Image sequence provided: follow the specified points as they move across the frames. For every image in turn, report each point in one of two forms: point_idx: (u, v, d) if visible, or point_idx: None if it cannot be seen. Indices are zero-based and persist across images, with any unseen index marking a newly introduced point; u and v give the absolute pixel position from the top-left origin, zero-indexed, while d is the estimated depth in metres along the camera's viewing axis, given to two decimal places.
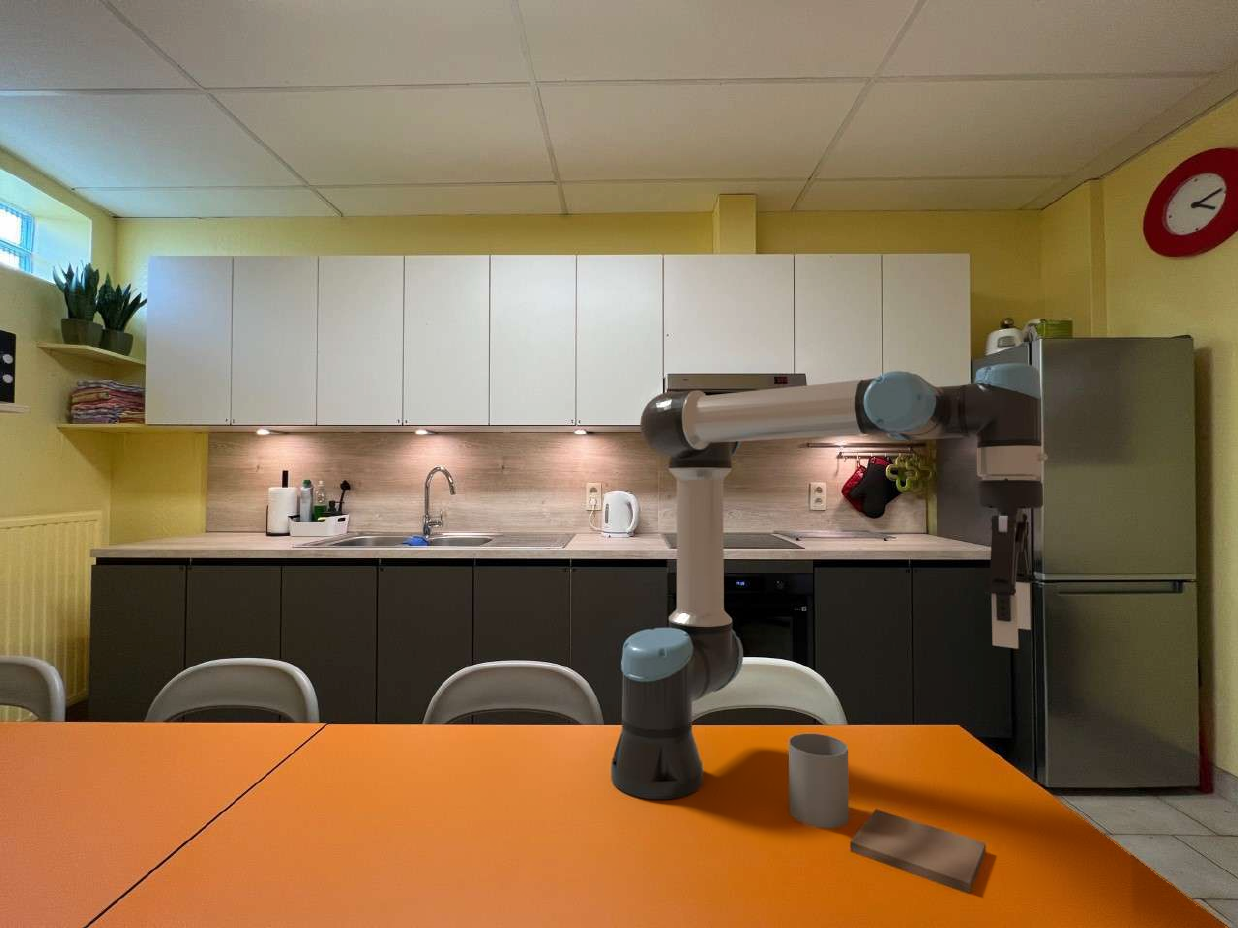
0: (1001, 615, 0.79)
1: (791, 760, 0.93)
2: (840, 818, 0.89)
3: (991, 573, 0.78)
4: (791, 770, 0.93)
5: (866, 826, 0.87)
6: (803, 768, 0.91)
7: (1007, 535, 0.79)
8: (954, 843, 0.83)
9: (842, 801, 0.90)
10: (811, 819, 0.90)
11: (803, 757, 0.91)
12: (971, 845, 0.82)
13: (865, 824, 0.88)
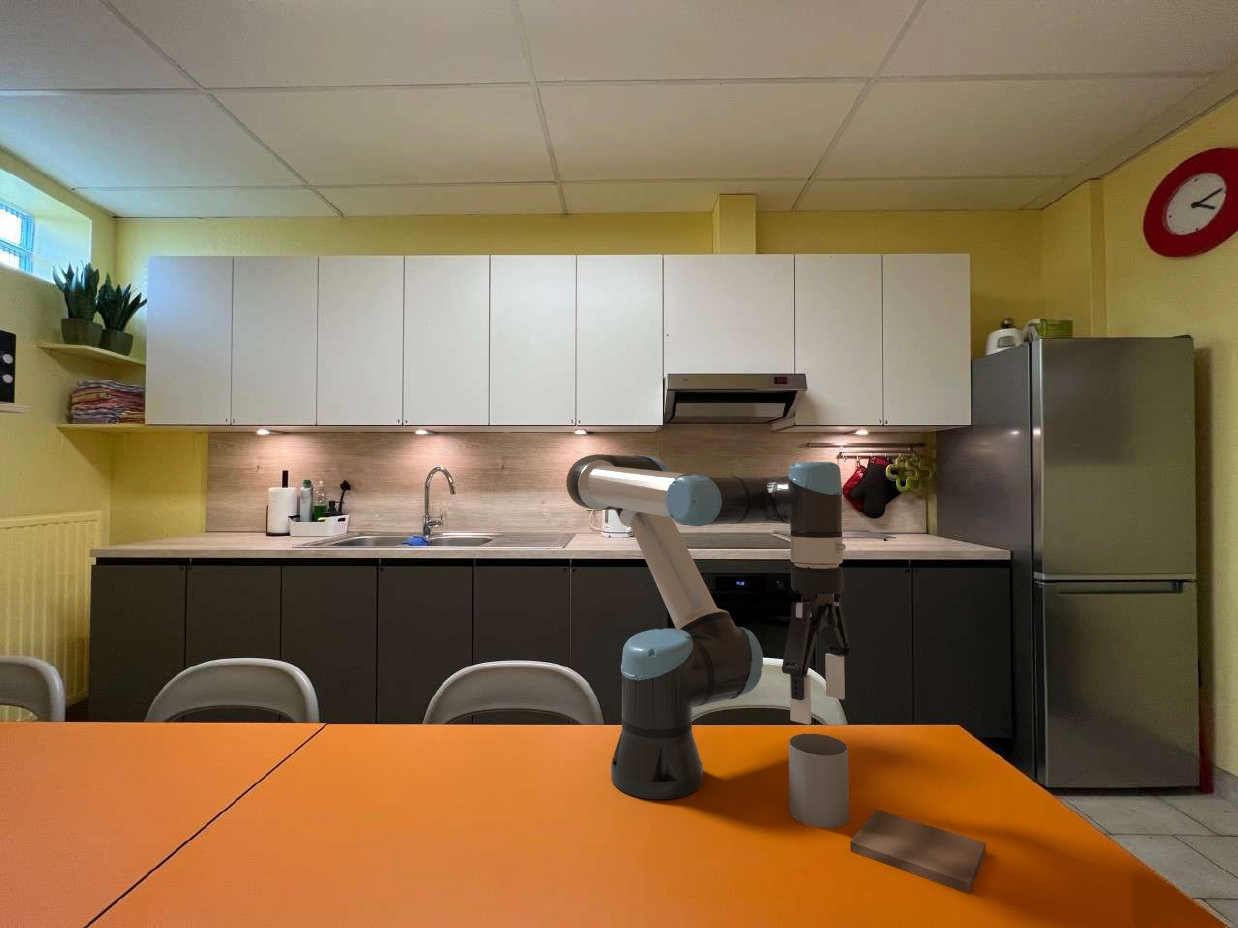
0: (794, 694, 0.87)
1: (791, 760, 0.93)
2: (840, 818, 0.89)
3: (785, 656, 0.87)
4: (791, 770, 0.93)
5: (866, 826, 0.87)
6: (803, 768, 0.91)
7: (801, 621, 0.88)
8: (954, 843, 0.83)
9: (842, 801, 0.90)
10: (811, 819, 0.90)
11: (803, 757, 0.91)
12: (971, 845, 0.82)
13: (865, 824, 0.88)
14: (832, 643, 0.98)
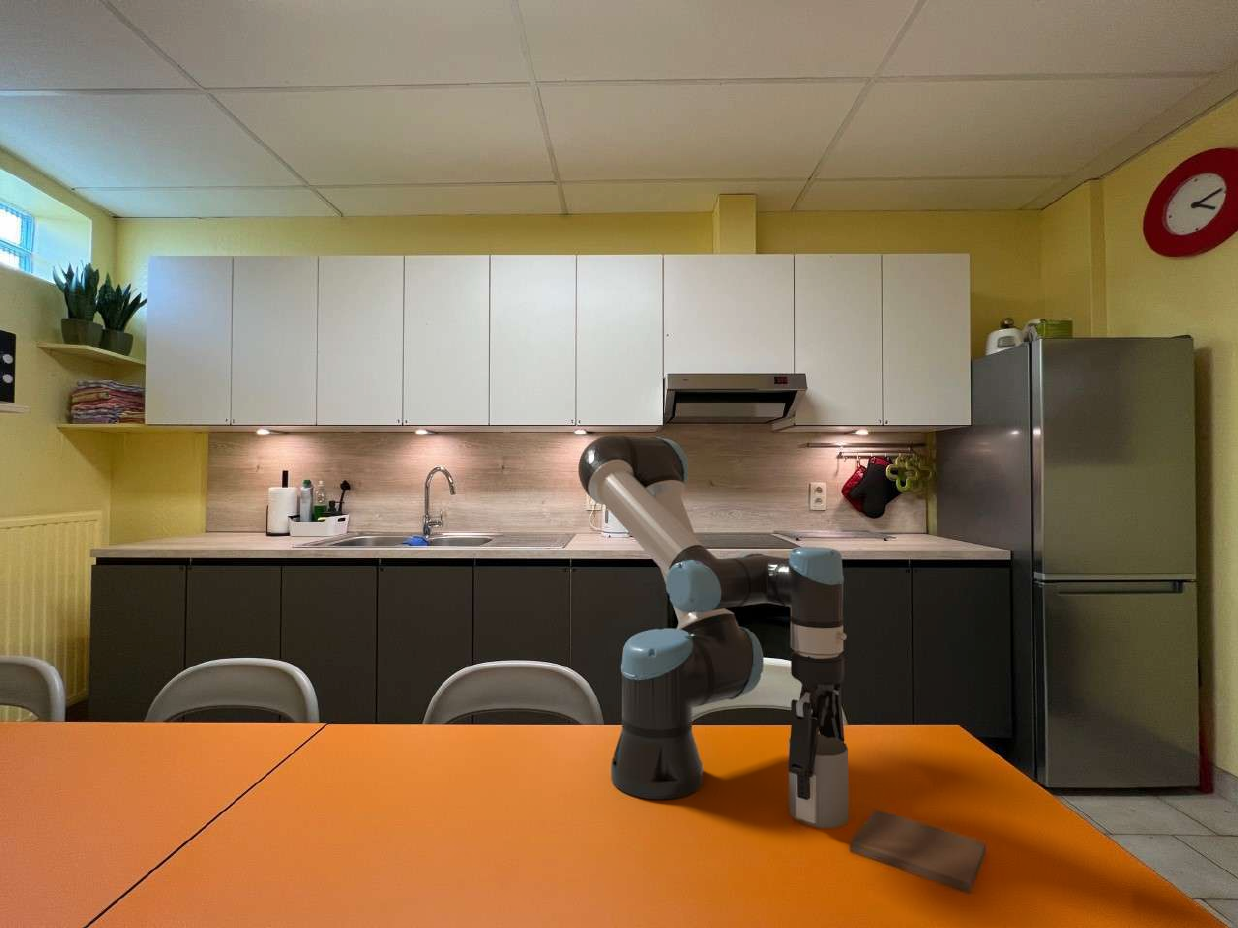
0: (800, 793, 0.89)
1: None
2: (840, 818, 0.89)
3: (790, 758, 0.88)
4: None
5: (866, 826, 0.87)
6: None
7: (803, 721, 0.88)
8: (954, 843, 0.83)
9: (842, 801, 0.90)
10: None
11: None
12: (971, 845, 0.82)
13: (865, 824, 0.88)
14: (828, 737, 0.97)
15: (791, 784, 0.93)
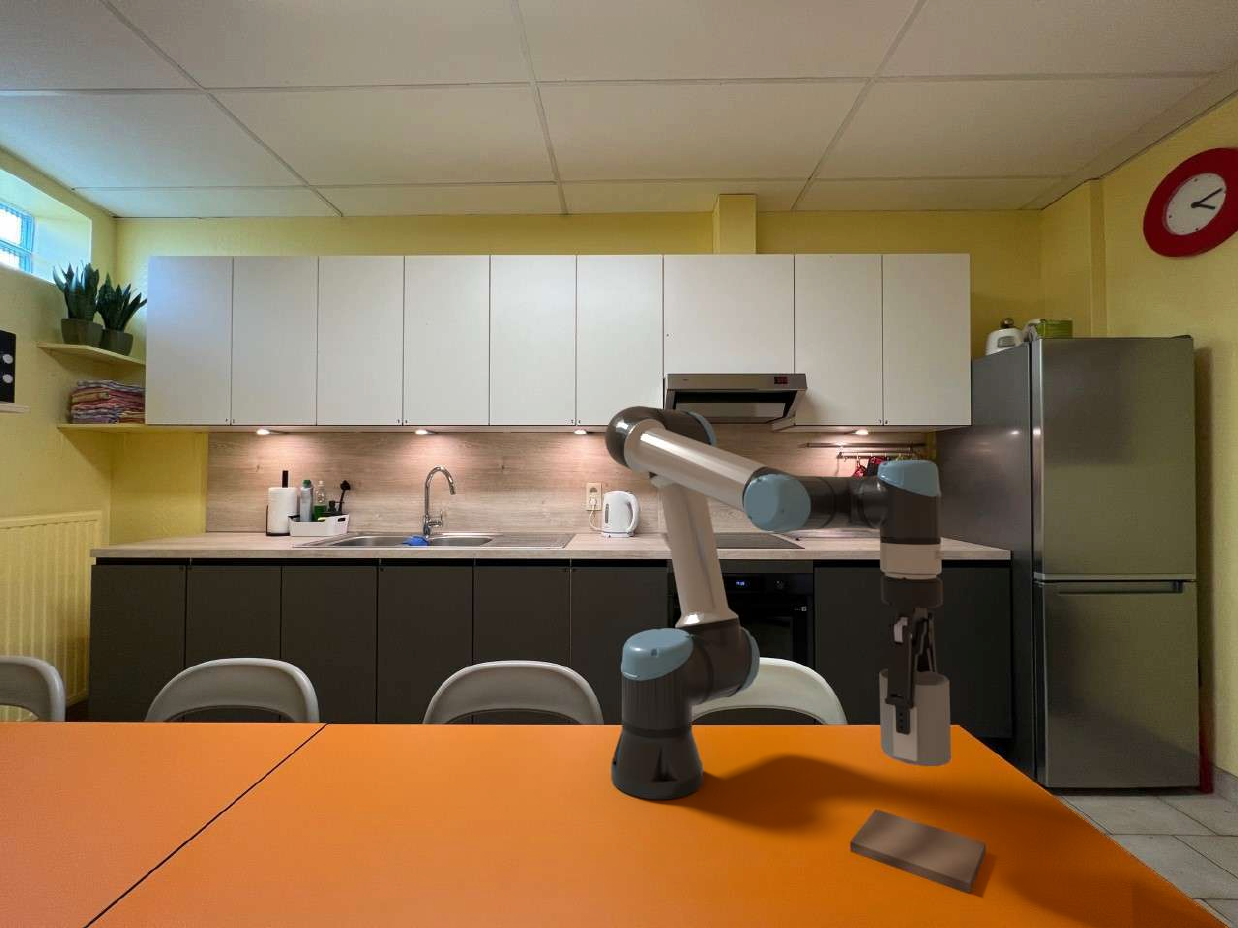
0: (900, 728, 0.79)
1: (884, 694, 0.83)
2: (943, 755, 0.80)
3: (888, 687, 0.79)
4: (885, 705, 0.83)
5: (866, 826, 0.87)
6: None
7: (902, 646, 0.79)
8: (954, 843, 0.83)
9: (945, 737, 0.81)
10: None
11: None
12: (971, 845, 0.82)
13: (865, 824, 0.88)
14: (921, 671, 0.87)
15: (885, 720, 0.83)
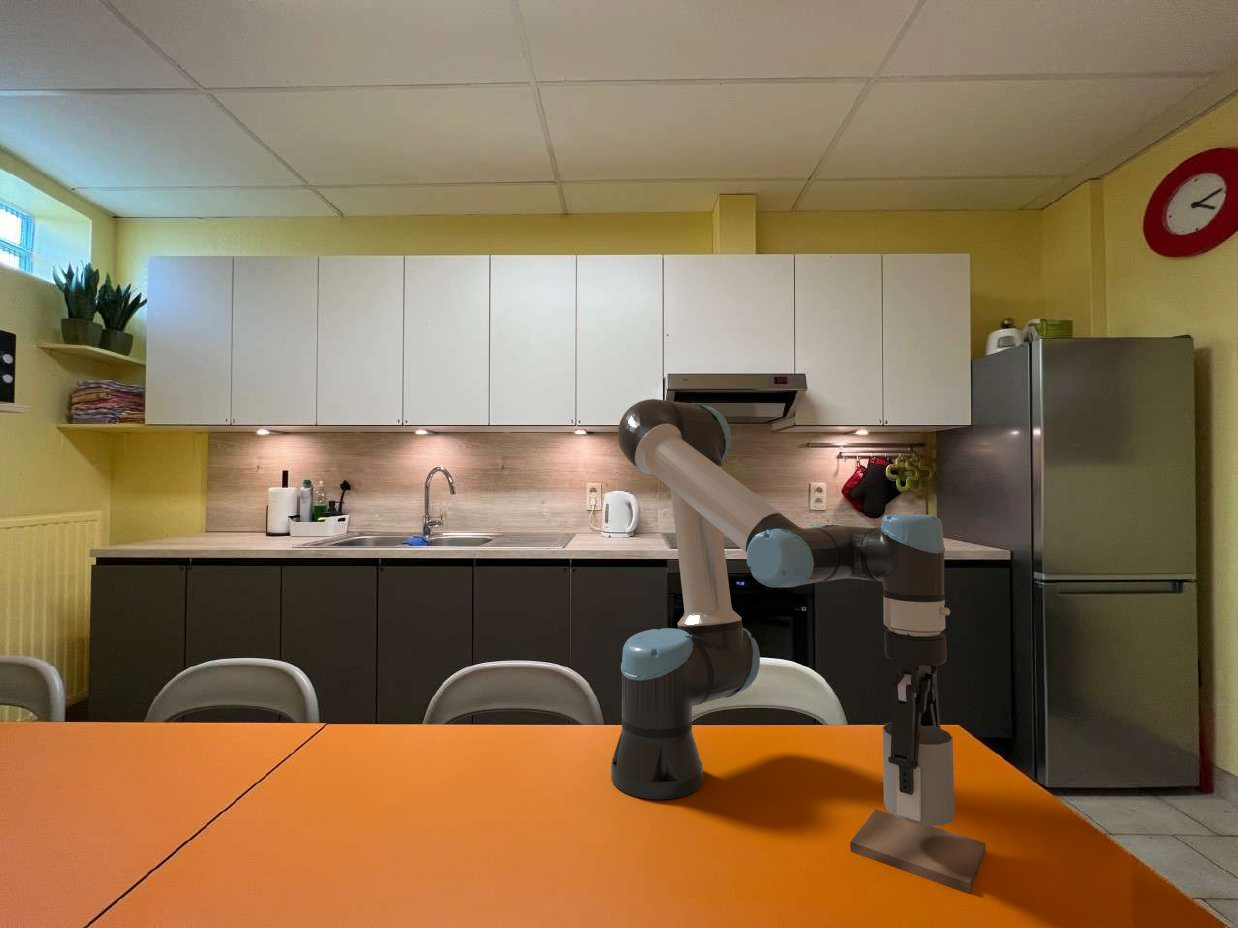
0: (903, 787, 0.79)
1: (888, 750, 0.83)
2: (947, 815, 0.80)
3: (892, 747, 0.78)
4: (888, 761, 0.83)
5: (866, 826, 0.87)
6: None
7: (906, 706, 0.78)
8: (954, 843, 0.83)
9: (948, 796, 0.80)
10: None
11: None
12: (971, 845, 0.82)
13: (865, 824, 0.88)
14: (924, 725, 0.87)
15: (888, 777, 0.83)
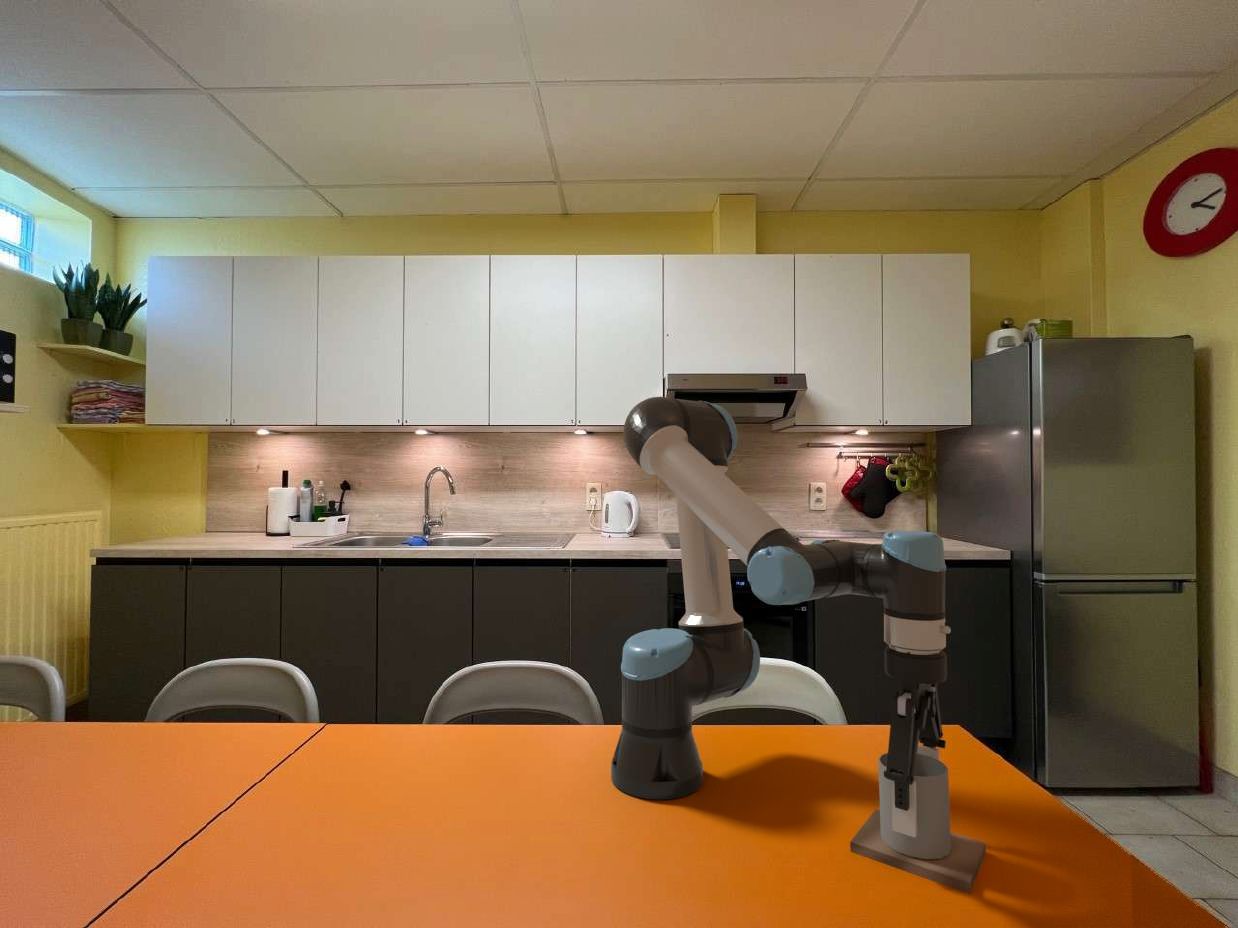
0: (899, 803, 0.78)
1: (885, 783, 0.83)
2: (945, 847, 0.80)
3: (888, 761, 0.77)
4: (885, 794, 0.83)
5: (866, 826, 0.87)
6: None
7: (905, 720, 0.78)
8: (954, 843, 0.83)
9: (945, 828, 0.80)
10: (913, 849, 0.80)
11: None
12: (971, 845, 0.82)
13: (865, 824, 0.88)
14: (926, 734, 0.88)
15: (885, 810, 0.83)
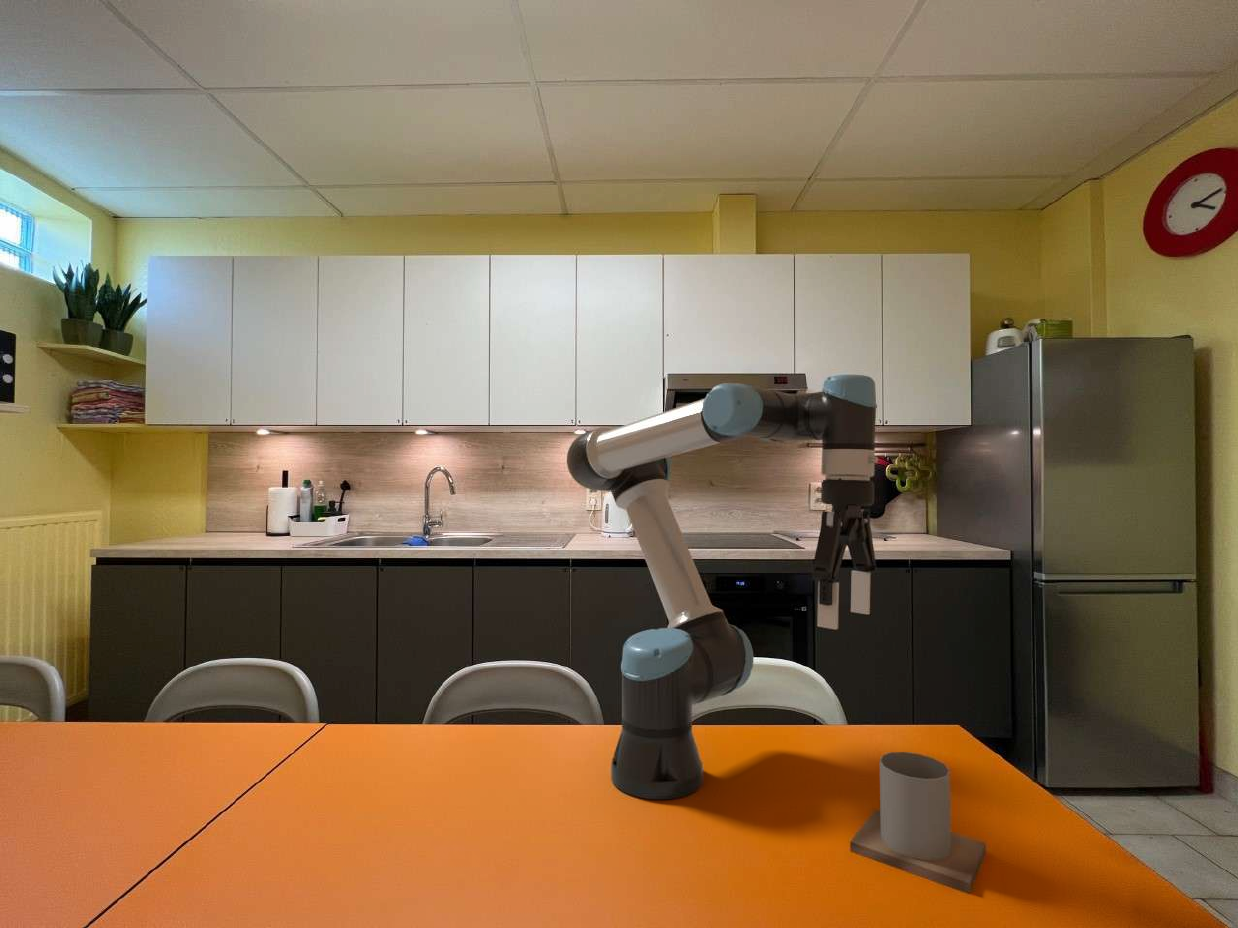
0: (823, 600, 0.88)
1: (886, 784, 0.83)
2: (945, 848, 0.80)
3: (814, 562, 0.88)
4: (886, 795, 0.83)
5: (866, 826, 0.87)
6: (903, 793, 0.80)
7: (832, 529, 0.89)
8: (954, 843, 0.83)
9: (946, 829, 0.80)
10: (914, 851, 0.80)
11: (903, 781, 0.81)
12: (971, 845, 0.82)
13: (865, 824, 0.88)
14: (859, 559, 0.99)
15: (886, 811, 0.83)
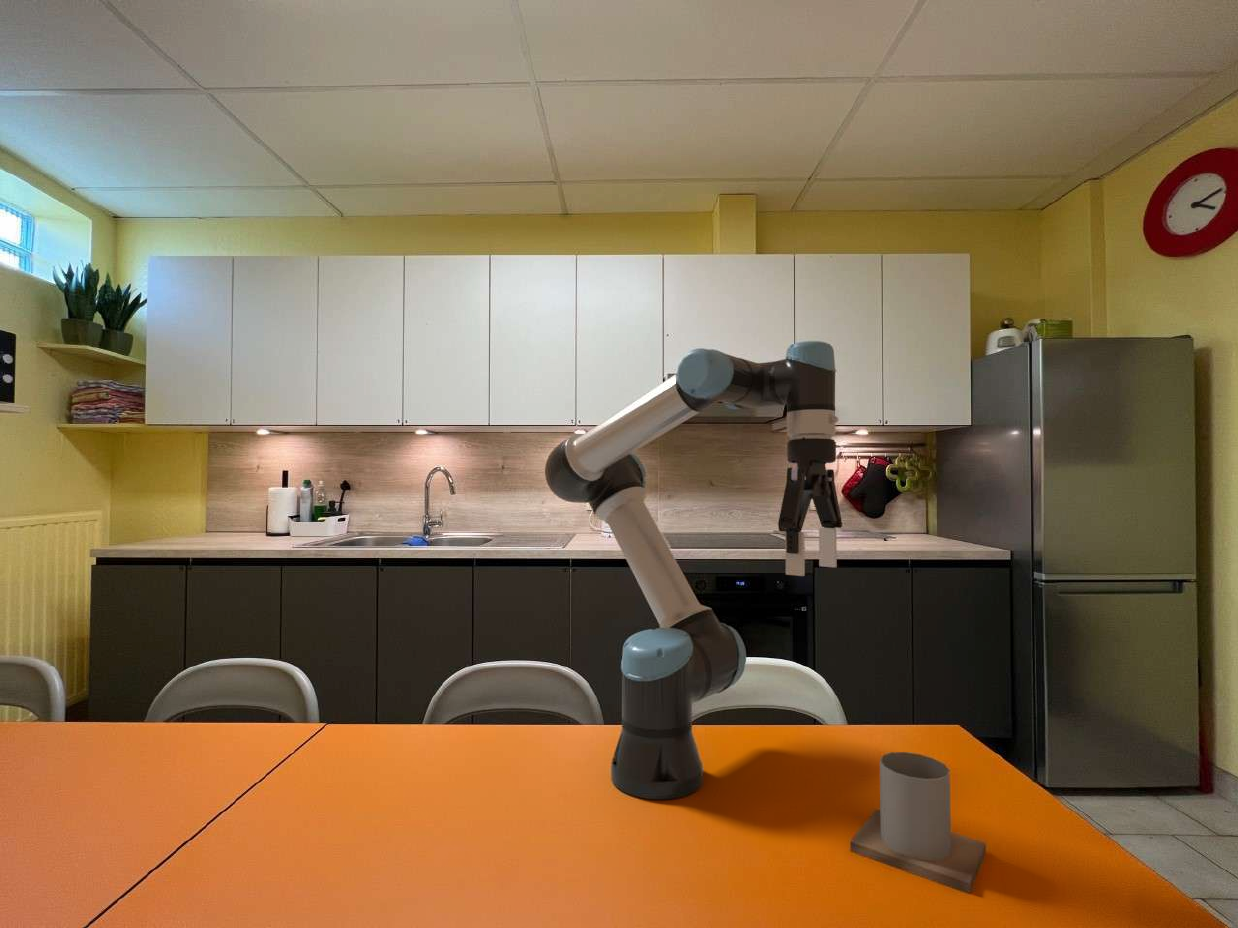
0: (789, 548, 0.95)
1: (886, 784, 0.83)
2: (945, 848, 0.80)
3: (781, 513, 0.95)
4: (886, 795, 0.83)
5: (866, 826, 0.87)
6: (903, 793, 0.81)
7: (796, 482, 0.96)
8: (954, 843, 0.83)
9: (946, 829, 0.80)
10: (914, 851, 0.80)
11: (903, 781, 0.81)
12: (971, 845, 0.82)
13: (865, 824, 0.88)
14: (825, 516, 1.06)
15: (886, 811, 0.83)
